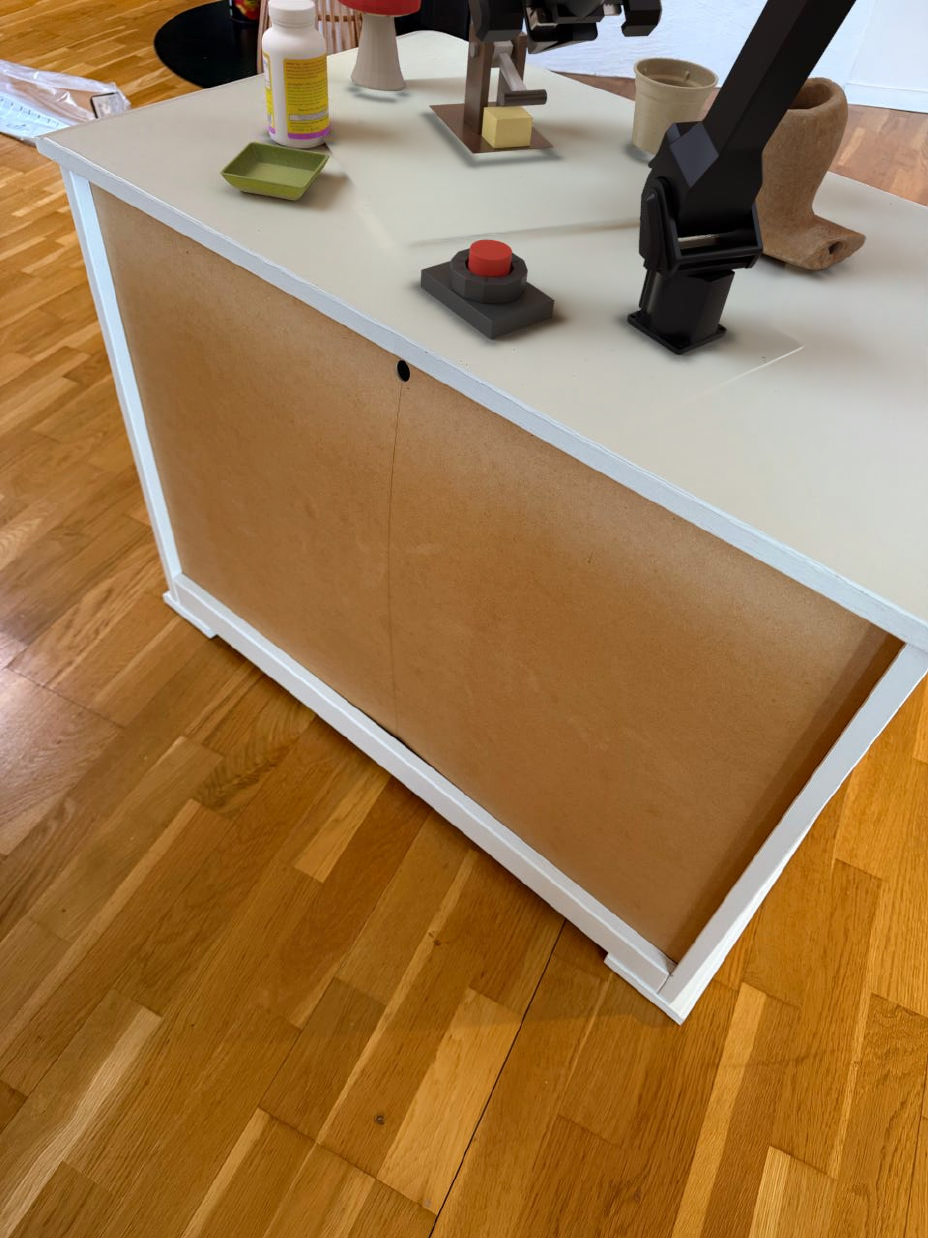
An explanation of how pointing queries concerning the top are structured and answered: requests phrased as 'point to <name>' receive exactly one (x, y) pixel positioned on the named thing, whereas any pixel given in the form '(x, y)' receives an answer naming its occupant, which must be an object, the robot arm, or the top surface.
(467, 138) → the slicer
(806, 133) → the clay smoking pipe
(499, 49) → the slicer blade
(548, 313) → the box
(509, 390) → the top surface
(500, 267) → the button
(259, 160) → the olive green shallow tray
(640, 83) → the flower pot
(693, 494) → the top surface
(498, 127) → the butter
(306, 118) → the supplement bottle
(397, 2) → the decorative mushroom
